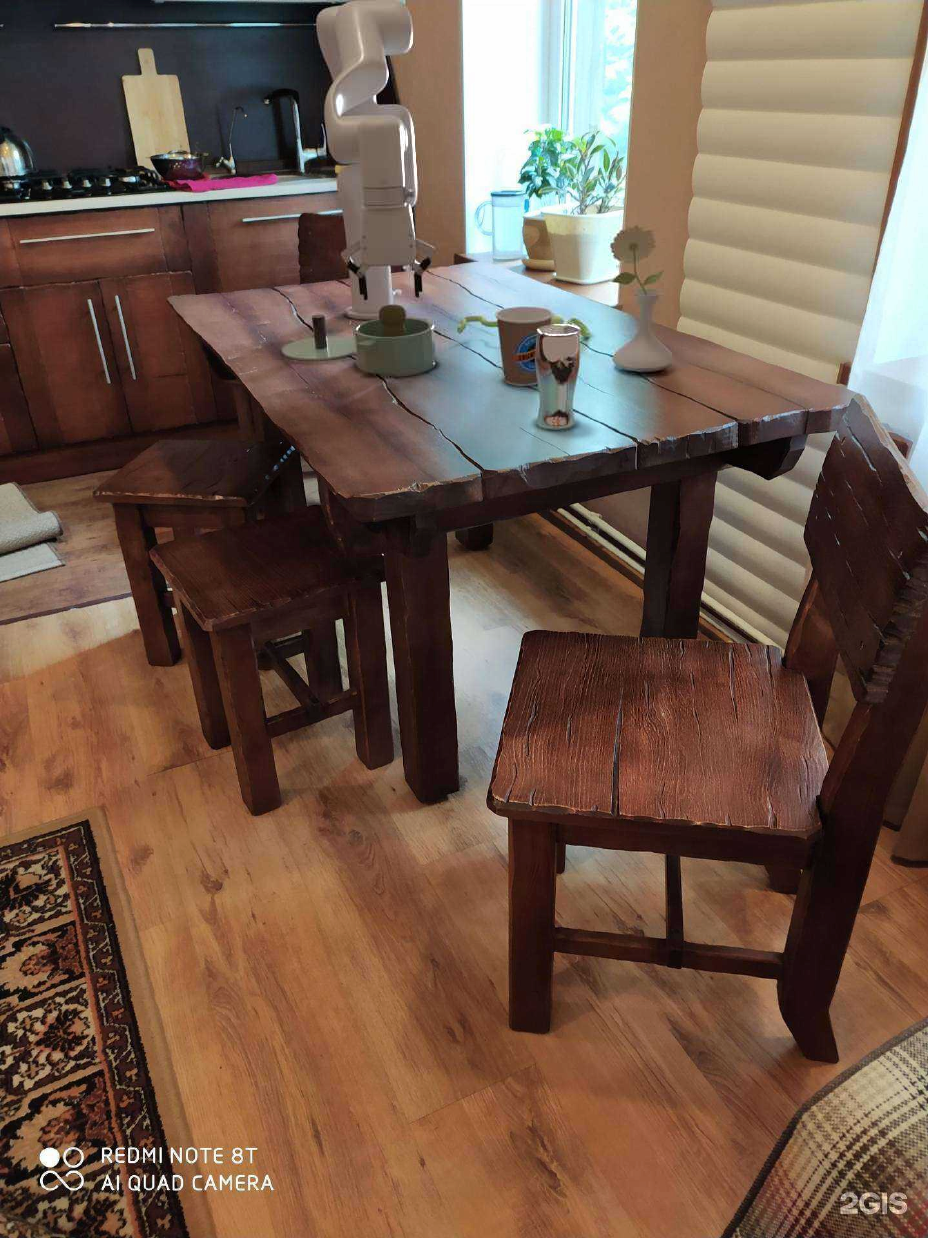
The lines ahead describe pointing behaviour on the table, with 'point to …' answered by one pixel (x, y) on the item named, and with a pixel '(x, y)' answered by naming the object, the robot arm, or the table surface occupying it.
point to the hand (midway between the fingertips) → (391, 297)
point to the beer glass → (557, 374)
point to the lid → (319, 345)
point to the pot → (395, 348)
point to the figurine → (465, 320)
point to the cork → (392, 320)
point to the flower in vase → (640, 304)
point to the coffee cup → (520, 342)
